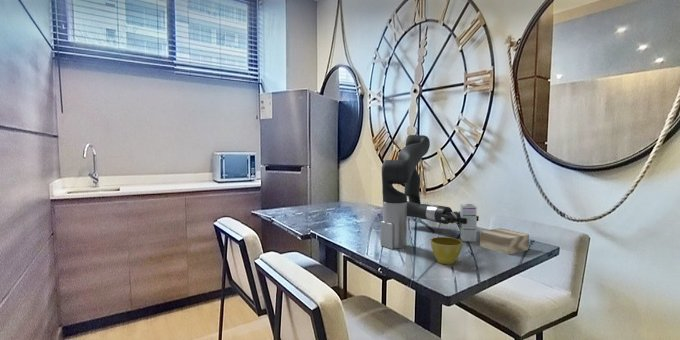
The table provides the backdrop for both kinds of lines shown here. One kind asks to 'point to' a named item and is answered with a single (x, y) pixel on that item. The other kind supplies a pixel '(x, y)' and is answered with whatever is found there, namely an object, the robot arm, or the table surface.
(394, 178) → the robot arm
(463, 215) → the syrup box
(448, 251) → the flower pot
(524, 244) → the birch block
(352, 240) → the table surface
